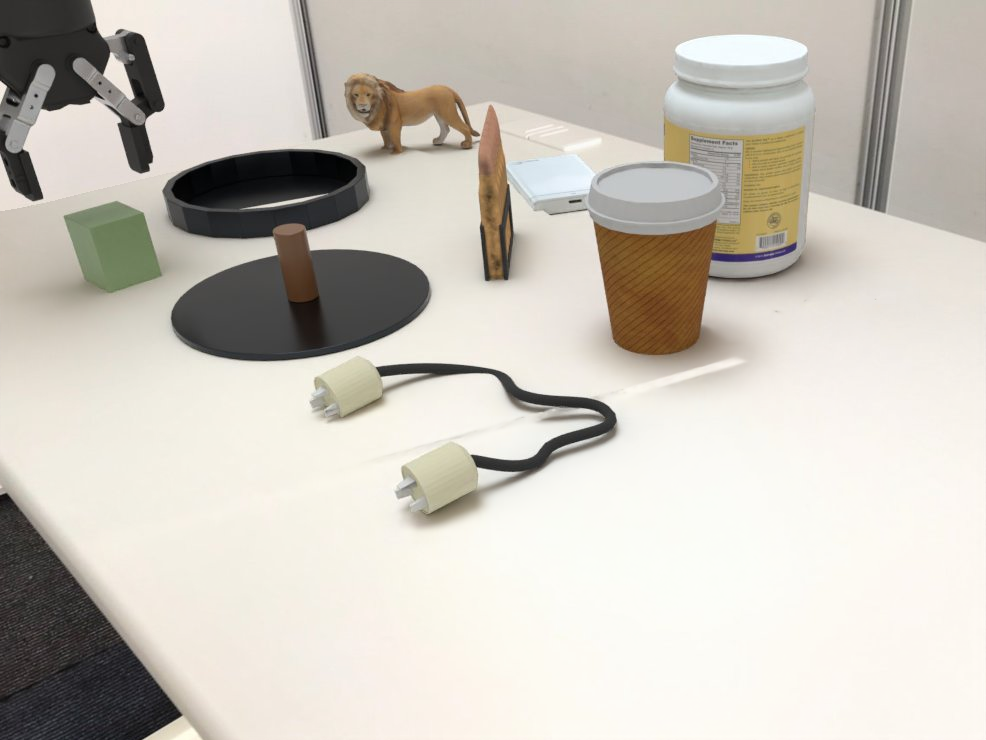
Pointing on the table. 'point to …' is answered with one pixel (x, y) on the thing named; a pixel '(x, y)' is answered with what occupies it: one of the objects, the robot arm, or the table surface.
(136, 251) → the block
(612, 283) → the disposable coffee cup
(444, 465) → the cable
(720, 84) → the supplement tub
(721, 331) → the table surface
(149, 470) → the table surface
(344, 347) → the lid
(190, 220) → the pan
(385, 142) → the lion figurine
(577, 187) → the hard drive
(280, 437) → the table surface
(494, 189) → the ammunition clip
